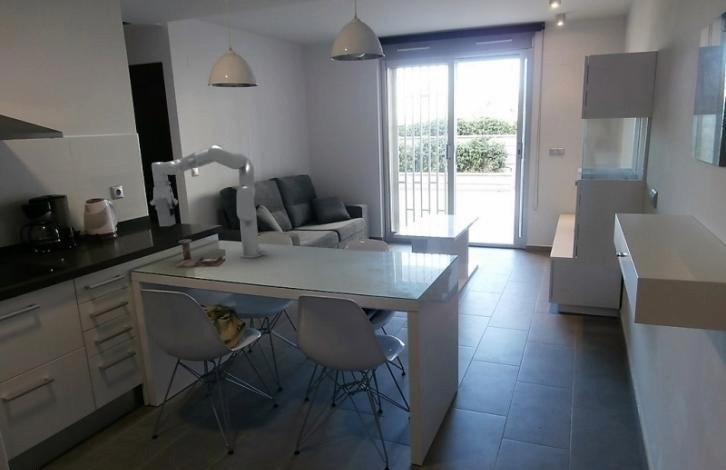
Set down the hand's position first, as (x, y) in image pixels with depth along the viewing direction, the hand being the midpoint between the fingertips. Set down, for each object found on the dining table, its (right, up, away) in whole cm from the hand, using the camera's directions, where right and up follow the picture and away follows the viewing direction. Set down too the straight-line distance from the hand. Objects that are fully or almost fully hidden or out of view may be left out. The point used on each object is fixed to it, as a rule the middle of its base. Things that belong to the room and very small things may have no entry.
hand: (165, 215), depth 282 cm
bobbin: (+10, -26, +6) cm, 29 cm away
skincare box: (0, -6, +1) cm, 6 cm away
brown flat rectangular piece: (+21, -28, -3) cm, 35 cm away
